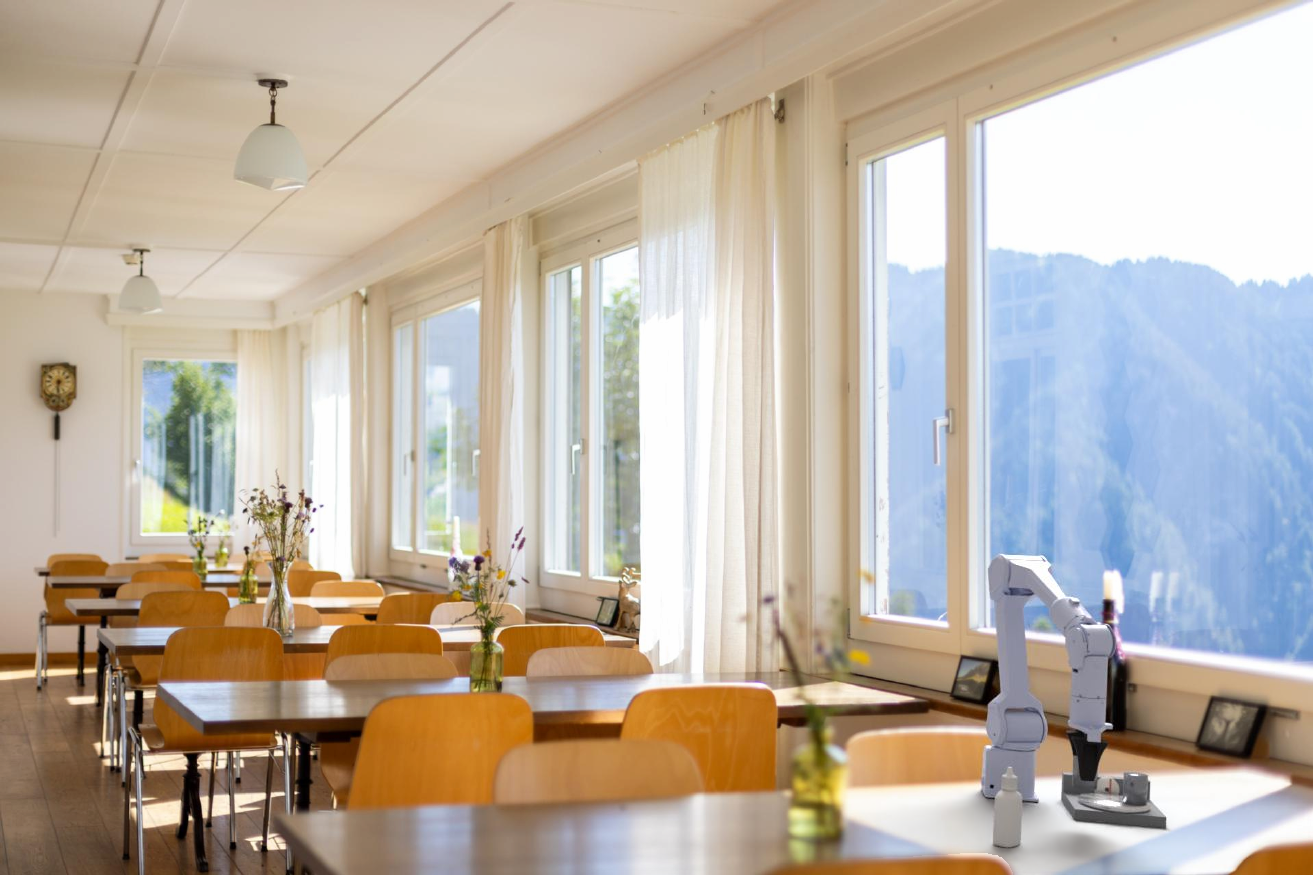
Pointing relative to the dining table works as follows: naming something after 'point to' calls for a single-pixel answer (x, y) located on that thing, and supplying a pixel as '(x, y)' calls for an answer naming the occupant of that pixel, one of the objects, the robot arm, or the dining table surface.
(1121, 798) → the pan
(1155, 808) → the scale
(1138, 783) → the cylinder
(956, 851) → the dining table surface
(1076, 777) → the cylinder
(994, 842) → the eye dropper bottle
